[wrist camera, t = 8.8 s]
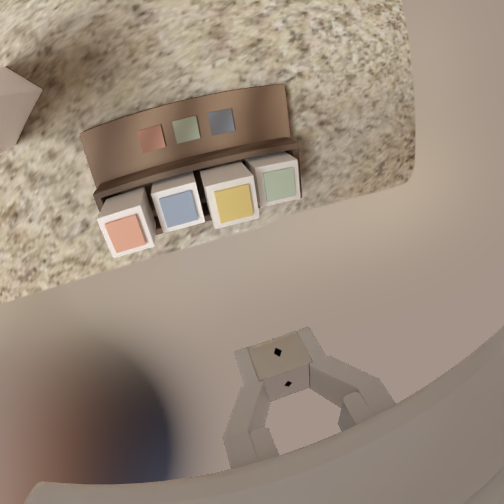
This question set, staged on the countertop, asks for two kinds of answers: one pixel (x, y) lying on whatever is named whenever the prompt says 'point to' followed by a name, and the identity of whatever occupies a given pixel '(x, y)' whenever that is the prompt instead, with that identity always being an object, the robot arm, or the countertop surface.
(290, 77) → the countertop surface
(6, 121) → the milk
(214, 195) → the key mustard
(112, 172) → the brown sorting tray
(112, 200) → the key terracotta
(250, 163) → the key sage
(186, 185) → the key slate
